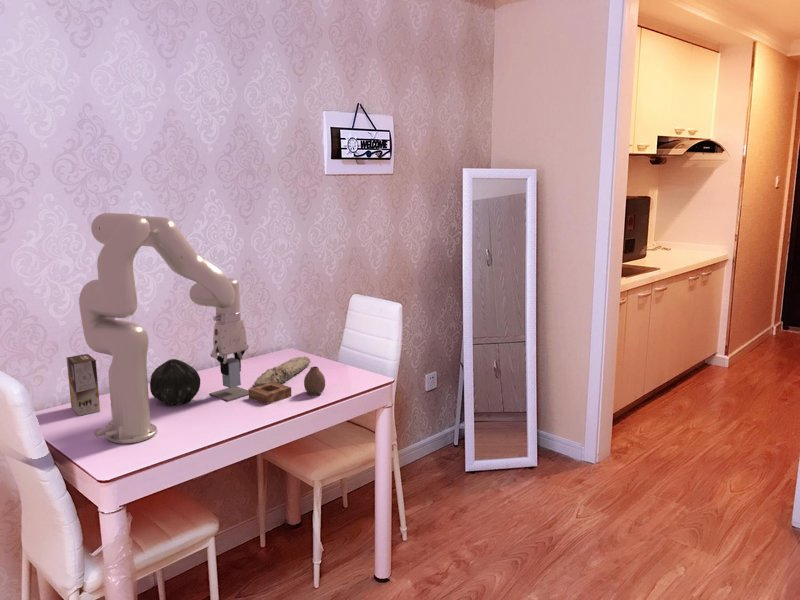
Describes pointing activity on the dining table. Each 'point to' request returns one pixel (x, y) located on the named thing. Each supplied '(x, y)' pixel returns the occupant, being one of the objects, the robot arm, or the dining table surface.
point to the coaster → (230, 393)
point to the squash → (174, 382)
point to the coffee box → (83, 384)
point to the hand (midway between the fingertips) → (231, 372)
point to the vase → (314, 381)
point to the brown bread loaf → (283, 371)
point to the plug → (232, 373)
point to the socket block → (269, 392)
